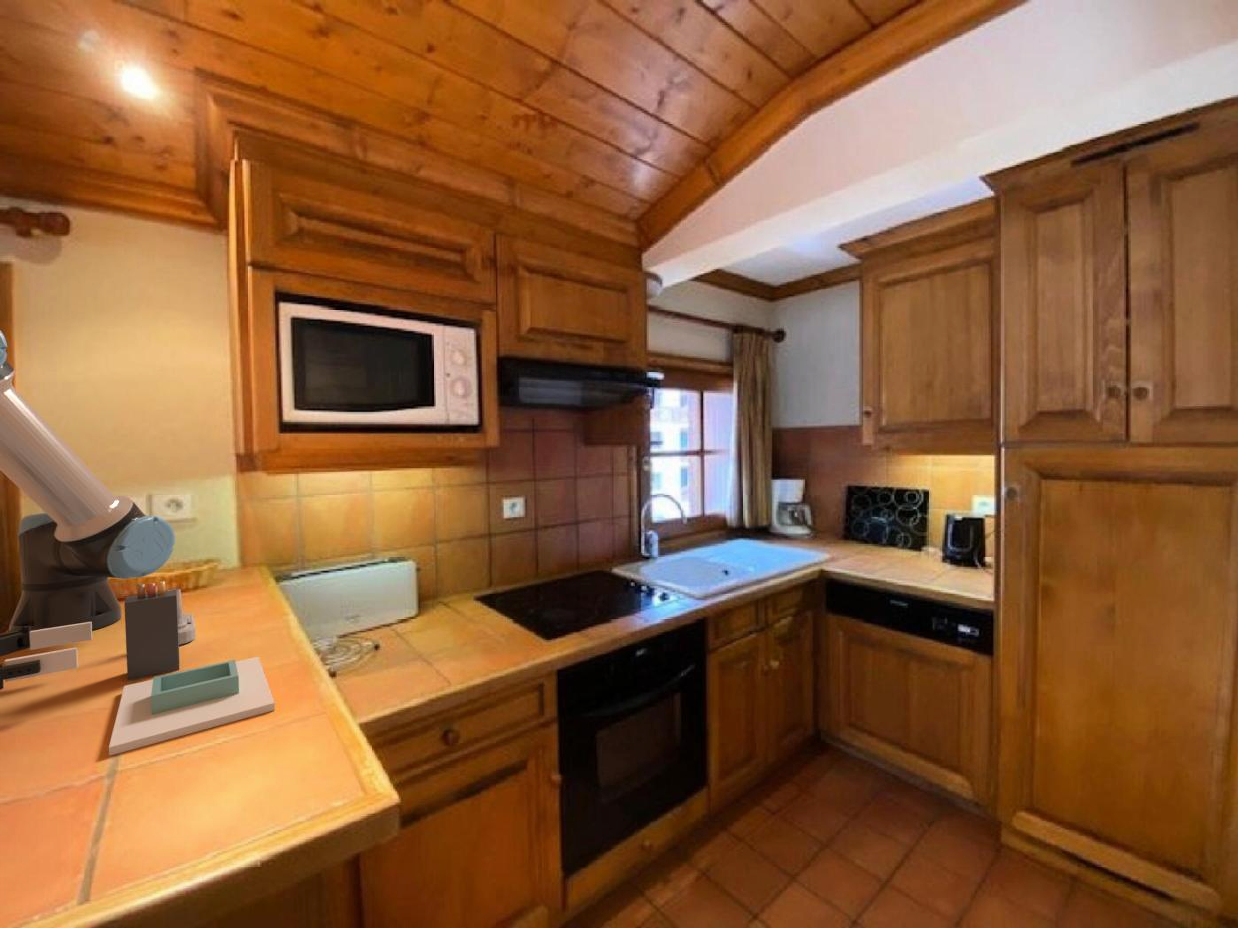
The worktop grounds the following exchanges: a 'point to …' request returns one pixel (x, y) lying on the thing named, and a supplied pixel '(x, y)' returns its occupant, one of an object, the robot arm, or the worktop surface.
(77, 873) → the worktop surface
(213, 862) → the worktop surface
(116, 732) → the header board
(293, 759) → the worktop surface
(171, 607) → the block
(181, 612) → the electronic device
